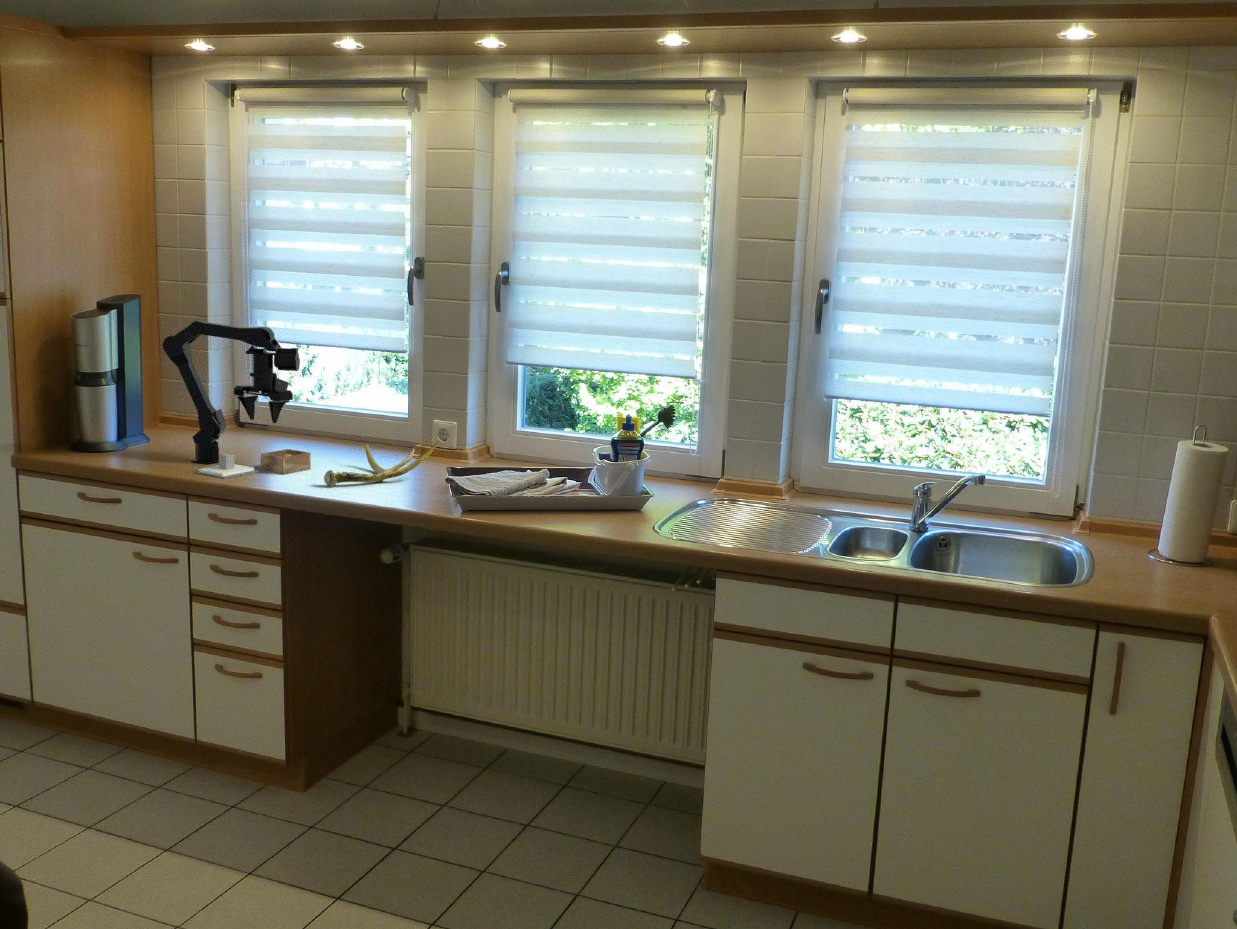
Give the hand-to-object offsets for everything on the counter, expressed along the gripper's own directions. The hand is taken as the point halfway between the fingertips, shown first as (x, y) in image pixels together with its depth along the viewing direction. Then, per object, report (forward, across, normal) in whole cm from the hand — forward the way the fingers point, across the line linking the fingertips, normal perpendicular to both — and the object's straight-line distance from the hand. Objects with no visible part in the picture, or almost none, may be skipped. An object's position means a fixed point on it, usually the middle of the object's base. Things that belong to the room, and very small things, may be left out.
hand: (263, 421), depth 327 cm
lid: (+13, -2, +16) cm, 20 cm away
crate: (+13, -11, +2) cm, 17 cm away
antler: (+13, -42, -7) cm, 44 cm away
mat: (+13, -2, +16) cm, 21 cm away
